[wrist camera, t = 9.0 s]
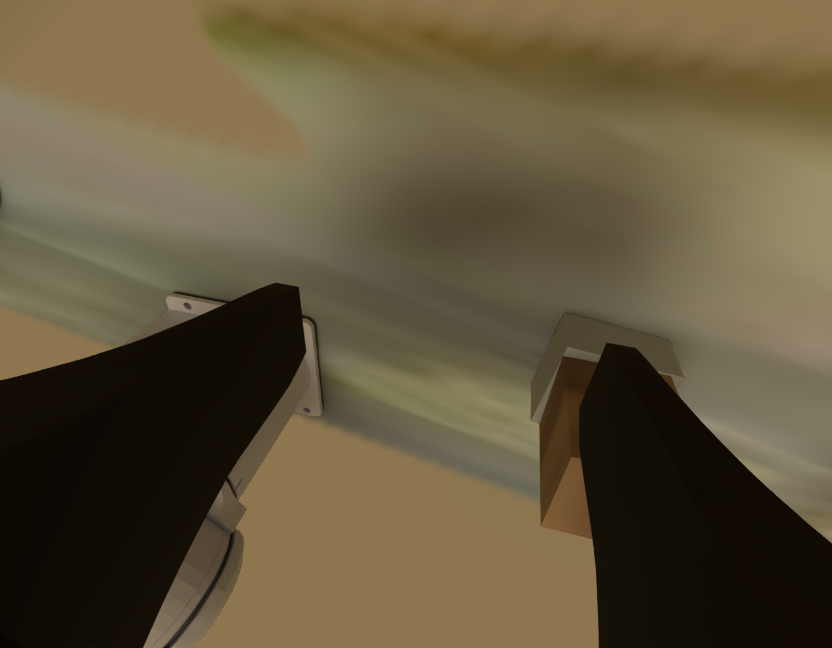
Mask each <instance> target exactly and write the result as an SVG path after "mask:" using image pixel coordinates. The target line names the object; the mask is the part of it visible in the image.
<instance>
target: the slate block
mask: <svg viewBox="0 0 832 648" xmlns="http://www.w3.org/2000/svg"><path fill="white" fill-rule="evenodd" d="M606 342H607V343H612V344H618V345H623V346H629V347H634V348H637V349H638V350H639V351H640V352H641V354H642V355H643V356H644V357H645V358H646V359H647V360H648V361H649V362H650V364H651V365H652V366H653V367H654V368H655V369H656V371H657V372H658V373H659V374H664V375H669V376H671V378H672V380H673V383H674V385H675V388H676V389H677V387H678V386H679V385H680V383H681V382H682V381H683V380H684V375H683V373H682V371H681V368H680V366H679V364H678V361H677V359H676V357H675V354H674V352H673V350H672V347H671V345H670V343H669V340H668V339H664V338H660V337H657V336H653V335H649V334H645V333H641V332H637V331H634V330H630V329H626V328H622V327H618V326H614V325H610V324H607V323H603V322H599V321H595V320H591V319H587V318H584V317H580V316H576V315H572V314H568V313H564V314H563V316H562V318H561V321H560V323H559V325H558V327H557V329H556V331H555V334H554V336H553V338H552V340H551V342H550V344H549V347H548V349H547V351H546V353H545V355H544V357H543V360H542V362H541V364H540V366H539V368H538V370H537V373H536V375H535V377H534V379H533V381H532V383H531V421H533V422H536V423H540V421H541V418H542V415H543V412H544V409H545V406H546V403H547V400H548V397H549V395H550V392H551V389H552V386H553V383H554V380H555V377H556V374H557V371H558V368H559V366H560V363H561V360H562V357H563V356H566V357H572V358H577V359H582V360H588V361H593V362H598V361H599V359H600V357H601V354H602V352H603V350H604V347H605V345H606Z"/></svg>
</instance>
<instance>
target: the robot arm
mask: <svg viewBox="0 0 832 648" xmlns="http://www.w3.org/2000/svg"><path fill="white" fill-rule="evenodd" d="M166 303H167V305H168V308H169V310H168V311H167V312H165V313H164V314H163V315H162V316H160V317H159V318H158V319H156V320H155V321H154V322H152V323H151V324H150V325H149V326H147V327H146V328H145V329H143V330H142V331H141V332H139V333H138V334H137V335H136V336H134V337H133V338H132V339H130V340H129V341H128V342H126V343H125V344H124V345H122V346H121V347H118V348H115V349H111V350H108V351H105V352H102V353H99V354H96V355H93V356H90V357H87V358H83V359H80V360H77V361H73V362H70V363H66V364H62V365H58V366H55V367H51V368H47V369H43V370H40V371H36V372H33V373H28V374H25V375H21V376H17V377H13V378H9V379H5V380H0V648H195V647H196V646H197V644H198V643H199V642H200V641H201V640H202V638H203V637H204V636H205V634H206V633H207V632H208V630H209V629H210V628H211V626H212V625H213V623H214V622H215V620H216V619H217V617H218V616H219V614H220V613H221V611H222V609H223V608H224V606H225V604H226V602H227V601H228V599H229V597H230V595H231V593H232V591H233V588H234V586H235V584H236V582H237V579H238V576H239V574H240V570H241V566H242V561H243V549H244V538H243V535H242V534H241V532H240V531H239V530H237V529H236V526H237V525H238V523H239V521H240V520H241V518H242V516H243V515H244V513H245V511H246V510H247V509H246V507H244V506H243V505H242V504H241V503H240V502H239V501H238V500H239V498H240V497H241V495H242V493H243V492H244V490H245V489H246V487H247V485H248V484H249V482H250V481H251V479H252V478H253V476H254V474H255V473H256V471H257V470H258V468H259V466H260V465H261V463H262V462H263V460H264V459H265V457H266V455H267V454H268V452H269V451H270V449H271V447H272V445H273V444H274V443H275V441H276V439H277V438H278V436H279V435H280V433H281V431H282V430H283V428H284V427H285V425H286V424H287V422H288V420H289V419H290V417H291V416H292V414H293V412H297V413H301V414H306V415H310V416H315V417H318V416H320V415H321V413H322V411H323V408H322V399H321V389H320V379H319V369H318V359H317V350H316V340H315V330H314V325H313V323H312V322H311V321H310V320H308V319H305V318H302V311H301V302H300V294H299V287H296V286H291V285H285V284H280V283H274V284H271V285H268V286H265V287H263V288H260V289H258V290H255V291H253V292H251V293H248V294H246V295H244V296H242V297H239V298H237V299H235V300H233V301H231V302H228V303H222V302H217V301H212V300H207V299H201V298H196V297H191V296H186V295H181V294H175V293H172V294H170V295H169V296H167V297H166ZM579 449H580V457H581V464H582V471H583V478H584V485H585V492H586V499H587V506H588V512H589V519H590V526H591V533H592V539H593V546H594V556H595V565H596V580H597V602H598V626H599V627H598V628H599V648H832V543H831V542H829V541H828V540H827V539H826V538H825V537H823V536H822V535H821V534H820V533H819V532H817V531H816V530H815V529H814V528H813V527H811V526H810V525H809V524H808V523H807V522H806V521H804V520H803V519H802V518H801V517H800V516H799V515H798V514H797V513H795V512H794V511H793V510H792V509H791V508H790V507H789V506H788V505H786V504H785V503H784V502H783V501H782V500H781V499H780V498H779V497H777V496H776V495H775V494H774V493H773V492H772V491H771V490H770V489H768V488H767V487H766V486H765V485H764V484H763V483H762V482H761V481H760V480H759V479H758V478H757V477H756V476H755V475H753V474H752V473H751V472H750V471H749V470H748V469H747V468H746V467H745V466H744V465H743V464H742V463H741V462H740V461H739V460H738V459H737V458H736V457H735V456H734V455H733V454H732V453H731V452H730V451H729V450H728V449H727V448H726V447H725V446H724V445H723V444H722V443H721V442H720V441H719V440H718V439H717V437H716V436H715V435H714V434H713V433H712V432H711V431H710V430H709V429H708V428H707V427H706V426H705V425H704V424H703V423H702V422H701V420H700V419H699V418H698V417H697V416H696V415H695V414H694V413H693V412H692V411H691V409H690V408H689V407H688V406H687V405H686V404H685V403H684V402H683V400H682V399H681V398H680V397H679V396H678V395H677V394H676V392H675V391H674V390H673V389H672V388H671V387H670V386H669V384H668V383H667V382H666V381H665V380H664V379H663V377H662V376H661V375H660V374H659V373H658V372H657V371H656V369H655V368H654V367H653V366H652V365H651V364H650V362H649V361H648V360H647V359H646V358H645V357H644V356H643V355H642V354H641V352H640V351H639V350H638V349H637V348H634V347H629V346H623V345H618V344H612V343H607V342H606V345H605V347H604V350H603V352H602V354H601V357H600V359H599V361H598V364H597V366H596V369H595V371H594V373H593V376H592V378H591V381H590V383H589V385H588V388H587V390H586V392H585V395H584V397H583V400H582V402H581V404H580V407H579Z"/></svg>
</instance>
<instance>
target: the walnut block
mask: <svg viewBox="0 0 832 648" xmlns="http://www.w3.org/2000/svg"><path fill="white" fill-rule="evenodd" d="M597 364H598V362H593V361H588V360H582V359H577V358H572V357H566V356H563V357H562V360H561V363H560V366H559V368H558V371H557V374H556V377H555V380H554V383H553V386H552V389H551V392H550V395H549V397H548V400H547V403H546V406H545V409H544V412H543V415H542V418H541V421H540V423H539V425H540V506H541V526H542V527H545V528H549V529H553V530H558V531H562V532H566V533H570V534H574V535H578V536H582V537H586V538H590V539H592V533H591V526H590V519H589V512H588V506H587V499H586V492H585V485H584V478H583V471H582V464H581V457H580V449H579V407H580V404H581V402H582V400H583V397H584V395H585V392H586V390H587V388H588V385H589V383H590V381H591V378H592V376H593V373H594V371H595V369H596V366H597ZM660 375H661V376H662V377H663V379H664V380H665V381H666V382H667V383H668V384H669V386H670V387H671V388H672V389H673V390H674V391H675V392H676V394H677V395H678V393H677V390H676V388H675V385H674V383H673V380H672V378H671V376H669V375H664V374H660ZM678 396H679V395H678Z"/></svg>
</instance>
